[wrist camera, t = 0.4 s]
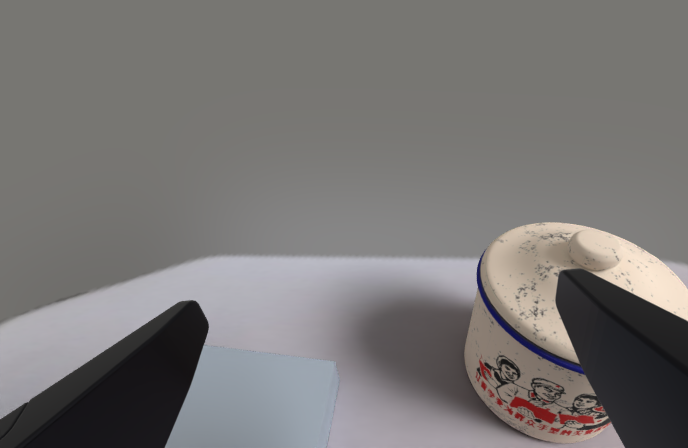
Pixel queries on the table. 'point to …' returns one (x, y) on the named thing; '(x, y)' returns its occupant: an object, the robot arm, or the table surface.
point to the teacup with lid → (549, 324)
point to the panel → (257, 401)
